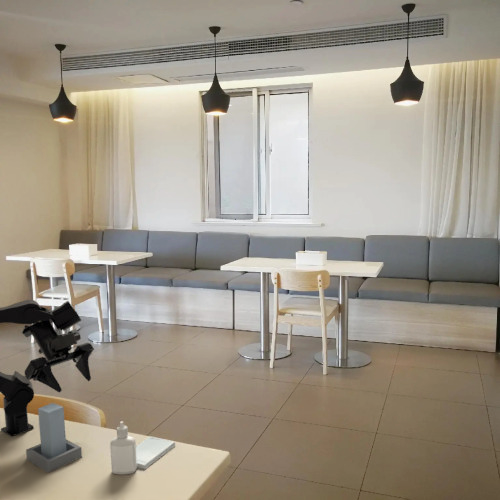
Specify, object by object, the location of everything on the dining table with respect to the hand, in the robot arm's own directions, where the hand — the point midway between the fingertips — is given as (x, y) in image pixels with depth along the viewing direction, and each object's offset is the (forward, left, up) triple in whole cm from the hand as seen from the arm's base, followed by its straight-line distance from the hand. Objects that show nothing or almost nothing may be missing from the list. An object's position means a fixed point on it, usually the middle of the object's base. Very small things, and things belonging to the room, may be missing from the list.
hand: (75, 385), depth 140 cm
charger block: (+6, -11, -14) cm, 19 cm away
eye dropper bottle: (+25, -4, -14) cm, 29 cm away
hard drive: (+23, +4, -14) cm, 28 cm away
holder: (+6, -11, -14) cm, 19 cm away
